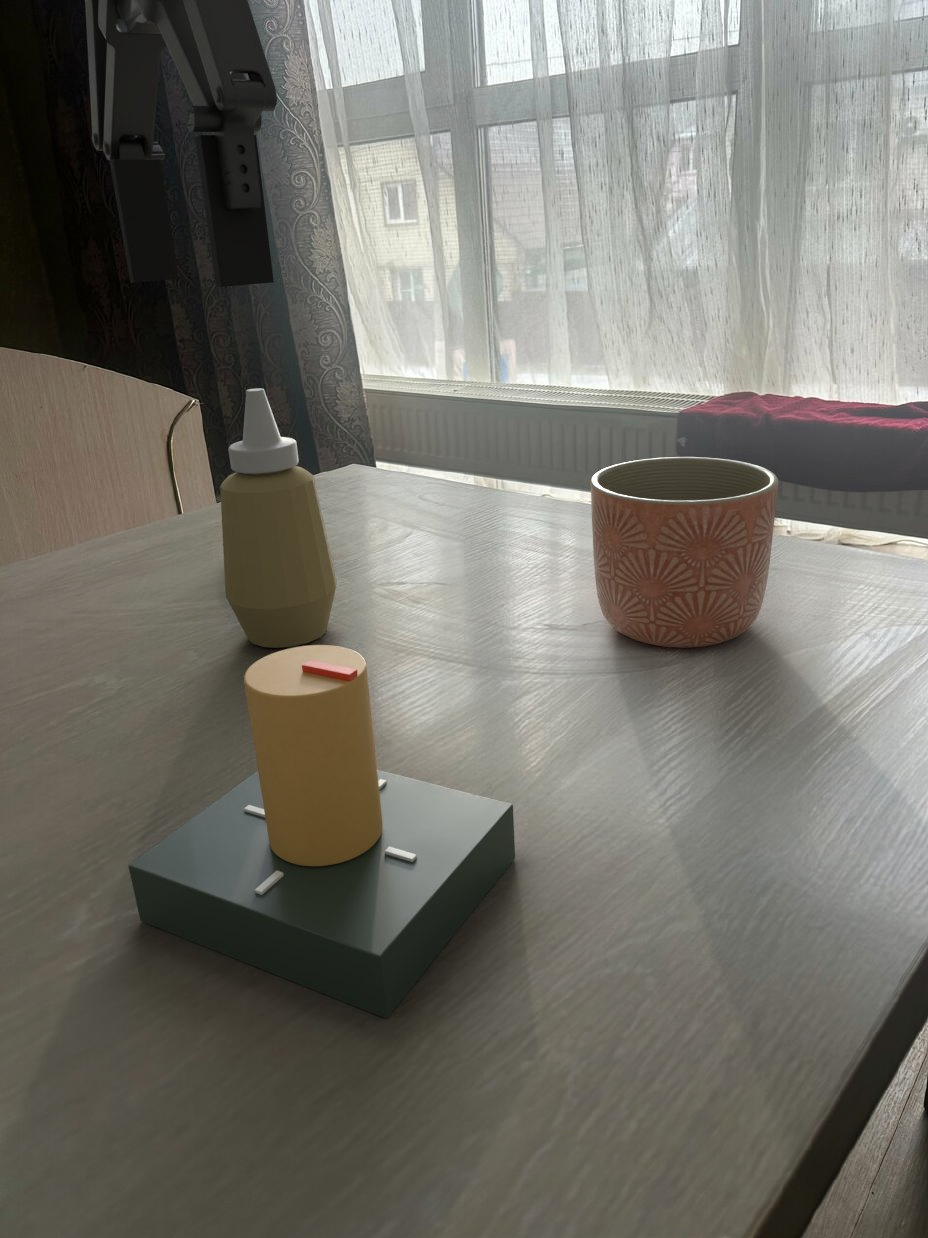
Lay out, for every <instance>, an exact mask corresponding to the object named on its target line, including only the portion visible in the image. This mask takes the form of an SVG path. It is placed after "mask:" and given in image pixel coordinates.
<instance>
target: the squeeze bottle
mask: <svg viewBox="0 0 928 1238" xmlns="http://www.w3.org/2000/svg"><path fill="white" fill-rule="evenodd" d="M297 444H298V443H297V440H295V439H294V438H292V437H288V436H287V437H286V436H281V434H280V431H279V428H278V425H277V422H276V420H275V417H274V414H273V411H272V409H271V406H270V403H269V400H268V396H267V394H266V391H265V389H264V388H259V387H258V388H257V387H256V388H250V389H246V391H245V405H244V418H243V432H242V440H240V441H236V442H233V443H231V444H230V445H229V447H228V448H227V450H228V456H229V457H228V458H229V463H230V469H231V471H233V473H232V474H229V475H228V476H227V477H226V478H225V479H224V480H223V481H222V483H221V485H220V486H219V489H220V491H219V493H220V510H221V529H222V530H221V531H222V532H221V533H222V549H223V550H222V552H223V569H224V571H223V573H224V588H225V589H224V592H225V598H226V600H227V602H228V604H229V606H230V608H231V610H232V612H233V613H234V615H235V617H236V619H237V621H238V623H239V625H240V627H241V629H242V631H243V633H244V635H245V636H246V638H247V639H248V640H249V641H250V643H251V644H252V645H256V646H259V647H262V648H274V649H280V648H294V647H298V646H300V645H301V646H302V645H304V644H308V643H310V642H313V641H315V640H317V639H320V638H321V637H322V636H324V634H325V633H327V632H328V631H327V630H328V625H329V620H330V616H331V613H332V607H333V603H334V599H335V594H336V590H337V576H336V572H335V567H334V562H333V558H332V553H331V547H330V544H329V539H328V536H327V529H326V526H325V520H324V516H323V512H322V507H321V503H320V498H319V494H318V489H317V484H316V480H315V476H314V474H312V473H311V472H309V470H307V469H305V468H303V467H301V466H298V465H299V460H300V459H299V453H298V445H297Z"/></svg>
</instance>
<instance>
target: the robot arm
mask: <svg viewBox="0 0 928 1238" xmlns="http://www.w3.org/2000/svg"><path fill="white" fill-rule="evenodd" d="M84 4H85V5H84V6H85V22H86V40H87V41H86V43H87V59H88V60H87V61H88V74H89V75H88V81H89V97H90V100H89V101H90V116H91V142H92V145H93V147H94V148H95V150H96V151H98V152H102V151H103V154H104V156H105V157H106V160H107V161H109V166H110V172H111V177H112V185H113V189H114V194H115V201H116V206H117V212H118V218H119V223H120V230H121V235H122V241H123V247H124V253H125V258H126V265H127V270H128V275H129V282H130V283H146V282H147V283H148V282H159V281H173V280H180V275H179V269H178V268H179V267H178V262H177V256H176V249H175V243H174V236H173V229H172V225H171V218H170V212H169V211H170V210H169V205H168V204H169V203H168V198H167V191H166V185H165V179H164V173H163V166H162V160H165V157H166V154H165V153H164V151H163V149H162V147H161V145H160V144H159V141H154V140H155V139H154V138H155V127H156V116H157V102H158V90H159V81H160V80H159V78H160V65H161V54H162V52H163V51H164V50H165V49H166V48H167V49H168V52H169V55H170V56H171V58H172V61H173V63H174V66H175V67H176V69H177V71H178V72H177V73H178V75H179V76H180V78H181V81H182V84H183V85H184V88H185V91H186V92H187V94H188V96H189V99H190V100H191V103H192V105H191V110H190V112H189V118H188V119H189V120H188V124H189V125H187V130H188V131H189V132H190V133H213V134H200V135H199V134H198V135H196V136H194V144H195V149H196V156H197V162H198V163H197V164H198V170H199V178H200V184H201V192H202V198H203V205H204V206H203V207H204V213H205V220H206V227H207V233H208V241H209V247H210V255H211V263H212V269H213V276H214V282H215V287H219V288H224V287H225V288H226V287H237V286H247V285H259V284H272V283H275V281H274V273H273V263H272V256H271V249H270V239H269V231H268V223H267V222H268V221H267V215H266V206H265V205H266V204H265V198H264V189H263V182H262V172H261V164H260V163H261V162H260V156H259V148H258V139H257V135H256V134H255V133H259V132H260V131H261V128H262V122H263V121H262V120H263V118H262V113H263V112H274V111H275V110H276V106H277V104H278V96H277V89H276V86H275V82H274V80H273V76H272V73H271V70H270V66H269V64H268V61H267V57H266V55H265V51H264V48H263V45H262V42H261V39H260V36H259V33H258V29H257V26H256V23H255V19H254V16H253V13H252V10H251V7H250V3H249V0H84ZM245 74H247V77H248V79H247V78H246V76H245Z"/></svg>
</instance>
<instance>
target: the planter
mask: <svg viewBox="0 0 928 1238" xmlns="http://www.w3.org/2000/svg"><path fill="white" fill-rule="evenodd" d="M589 484H590V503H591V507H590V508H591V525H592V526H591V529H592V530H591V531H592V552H593V567H594V579H595V587H596V595H597V600H598V604H599V608H600V610H601V613H602V615H603V617H604V618H605V620H606V621H607V622H608V624H609V625H610V626H611V627H612V628H613V629H615V630H616V631H617V632H619V633H620V634H622V635H623V636H626V637H627V638H630V639H632V640H634V641H638V642H640V643H644V644H648V645H653V646H658V647H666V648H681V649H682V648H687V649H688V648H702V647H708V646H713V645H717V644H721V643H725V642H728V641H730V640H733V639H734V638H736V637H739V636H740V635H741V634H743V633H745V632H747V630H748V629H749V628H750V627H751V626H752V625H753V624H754V623H755V621H756V620H757V618H758V616H759V614H760V612H761V609H762V606H763V603H764V598H765V595H766V590H767V585H768V579H769V572H770V564H771V557H772V556H771V555H772V547H773V537H774V531H775V530H774V529H775V519H776V509H777V500H778V489H779V479H778V477H777V475H776V474H775V473H774V472H772V471H771V470H769V469H767V468H765V467H763V466H759V465H756V464H752V463H749V462H744V461H739V460H733V459H725V458H715V457H714V458H713V457H697V456H675V457H674V456H673V457H656V458H655V457H654V458H645V459H639V460H633V461H631V460H630V461H627V462H622V463H617V464H614V465H611V466H608V467H605V468H603V469H601V470H599V471H597V472H596V473H595V474H594V475H593V476H592V477H591V479H590V483H589Z"/></svg>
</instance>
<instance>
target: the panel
mask: <svg viewBox="0 0 928 1238" xmlns="http://www.w3.org/2000/svg"><path fill="white" fill-rule="evenodd" d="M377 773H378V783H379V792H380V802H381V812H382V822H383V828H382V833H381V835H380V837H379V839H378V840H377V842H376V843H375V844H374V845H373V846H372V847H371V848H370V849H369V850H367V851H366V852H364V853H363V854H361V855H359V856H357V857H355V858H353V859H351V860H348V861H345V862H342V863H338V864H334V865H328V866H302V865H296V864H292V863H290V862H287V861H285V860H283V859H281V858H280V857H278V856H277V855H276V854H275V853H274V852H273V850H272V848H271V847H270V843H269V838H268V832H267V825H266V819H265V812H264V806H263V800H262V793H261V787H260V780H259V774H258V769H257V770H256V771H255V772H253V773H252V774H250V775H249V776H247V778H245V779H244V780H243V781H241V782H239V783H238V784H237V785H236V786H234V787H233V788H232V789H230V790H229V791H227V792H226V793H225V794H223V795H222V796H221V797H219V798H218V799H216V800H215V801H213V802H212V803H210V805H208V806H207V807H206V808H204V809H203V810H202V811H200V812H199V813H197V814H196V815H195V816H193V817H192V818H190V819H189V820H188V821H186V822H185V823H184V824H182V825H181V826H180V827H178V828H177V829H175V830H174V831H173V832H171V833H170V834H169V835H167V836H166V837H164V838H163V839H162V840H161V841H159V842H158V843H157V844H156V845H153V846H152V847H151V848H149V850H147V851H145V852H144V853H143V854H141V855H140V856H139V857H138V858H136V859H135V860H133V861H132V862H131V863H129V864H128V866H127V867H128V871H129V875H130V880H131V884H132V889H133V893H134V898H135V903H136V907H137V911H138V916H139V919H140V921H141V922H142V923H145V924H147V925H149V926H153V927H155V928H157V929H160V930H162V931H165V932H167V933H170V934H172V935H175V936H177V937H180V938H181V939H185V940H187V941H190V942H192V943H194V944H197V945H200V946H203V947H204V948H208V949H209V950H211V951H215V952H217V953H220V954H222V955H225V956H227V957H230V958H232V959H235V960H238V961H240V962H243V963H245V964H247V965H250V966H252V967H255V968H258V969H261V970H262V971H264V972H265V971H266V972H267V973H270V974H273V975H275V976H278V977H280V978H282V979H285V980H288V981H291V982H293V983H295V984H298V985H300V986H303V987H306V988H307V989H310V990H313V991H315V992H318V993H321V994H323V995H325V996H328V997H331V998H333V999H336V1000H339V1001H341V1002H343V1003H345V1004H349V1005H350V1006H353V1007H356V1008H358V1009H361V1010H363V1011H365V1012H368V1013H371V1014H373V1015H375V1016H379V1017H381V1018H384V1019H388V1018H389V1017H390V1016H391V1015H392V1013H393V1012H394V1011H395V1010H396V1008H397V1007H398V1006H399V1005H400V1003H401V1002H402V1001H403V999H404V998H405V997H406V996H407V995H408V993H409V992H410V991H411V990H412V988H414V986H415V984H416V983H417V982H418V981H419V980H420V978H421V977H422V976H423V974H424V973H425V972H426V971H427V969H428V968H429V967H430V966H431V964H432V963H433V962H434V961H435V959H436V958H437V957H438V956H439V954H440V953H441V952H442V951H443V949H444V948H445V947H446V946H447V944H448V943H449V942H450V940H451V939H452V938H453V937H454V935H455V934H456V933H457V932H458V930H459V929H460V928H461V927H462V925H463V924H464V923H465V922H466V920H467V919H469V917H470V916H471V914H472V913H473V912H474V910H475V909H476V908H477V907H478V906H479V905H480V904H481V902H482V901H483V899H484V898H485V897H486V896H487V894H488V893H489V892H490V891H491V889H492V888H493V887H494V886H495V884H496V883H497V882H498V880H500V878H501V877H502V876H503V874H505V872H506V870H507V869H508V868H509V866H510V865H511V864H512V863H513V862H514V861H515V859H516V848H515V847H516V844H515V822H514V821H515V820H514V804H513V803H510V802H505V801H503V800H502V801H501V800H497V799H493V798H491V797H490V798H489V797H486V796H481V795H479V794H478V795H477V794H474V793H471V792H466V791H462V790H459V789H455V788H450V787H446V786H443V785H438V784H435V783H431V782H427V781H422V780H419V779H415V778H412V777H407V776H403V775H399V774H395V773H391V772H387V771H383V770H380V769H377Z"/></svg>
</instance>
